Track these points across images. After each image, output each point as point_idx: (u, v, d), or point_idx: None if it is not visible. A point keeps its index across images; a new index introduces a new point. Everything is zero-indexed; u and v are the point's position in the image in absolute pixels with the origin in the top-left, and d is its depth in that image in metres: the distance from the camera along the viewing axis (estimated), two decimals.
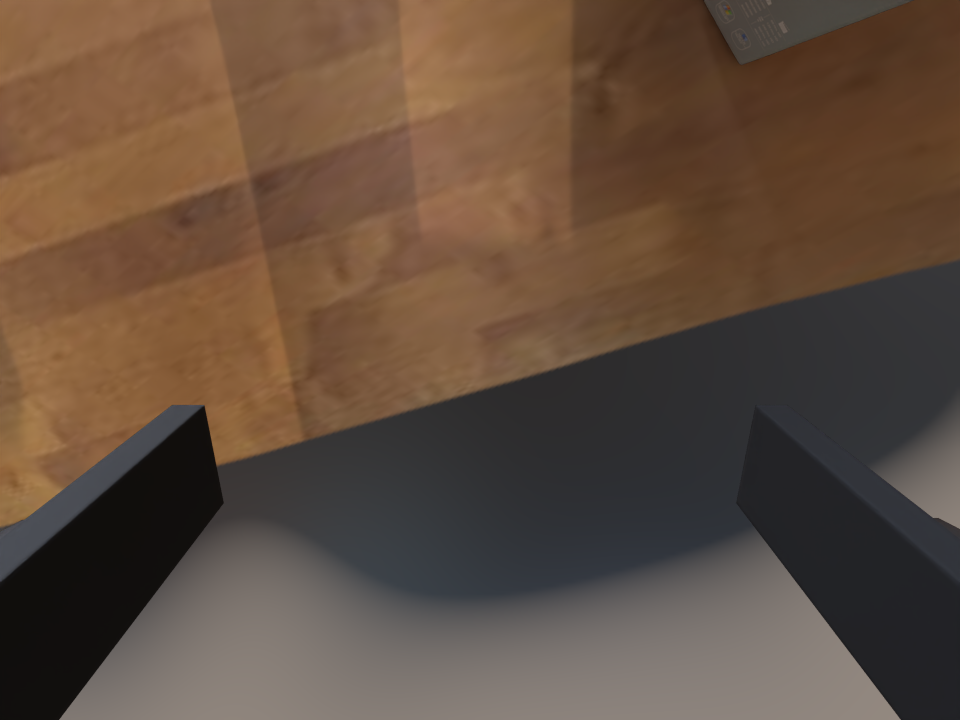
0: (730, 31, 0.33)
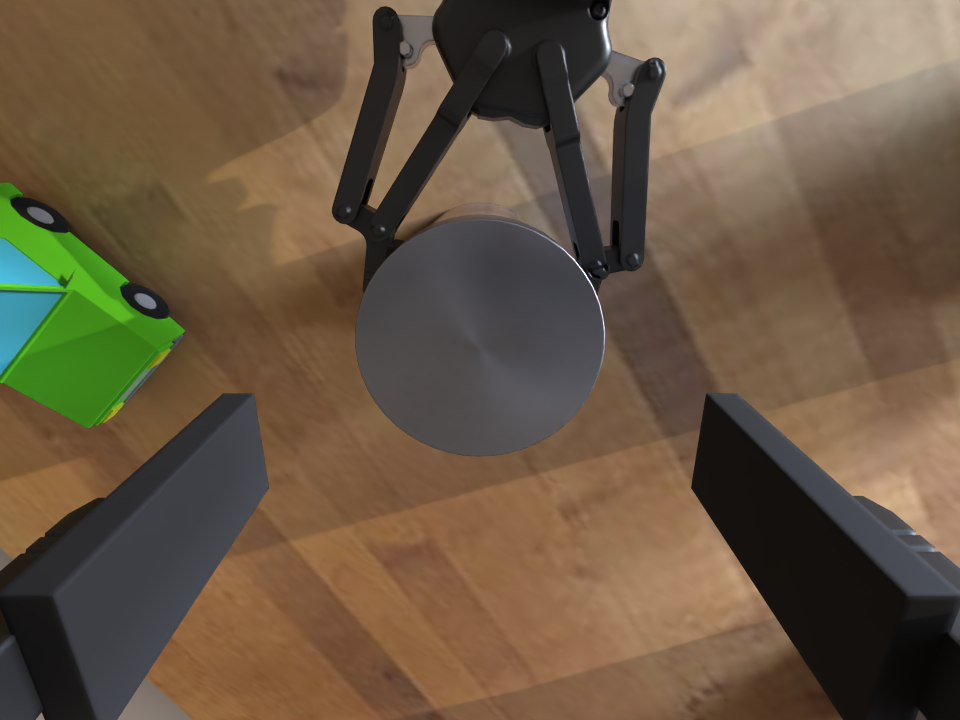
0: None
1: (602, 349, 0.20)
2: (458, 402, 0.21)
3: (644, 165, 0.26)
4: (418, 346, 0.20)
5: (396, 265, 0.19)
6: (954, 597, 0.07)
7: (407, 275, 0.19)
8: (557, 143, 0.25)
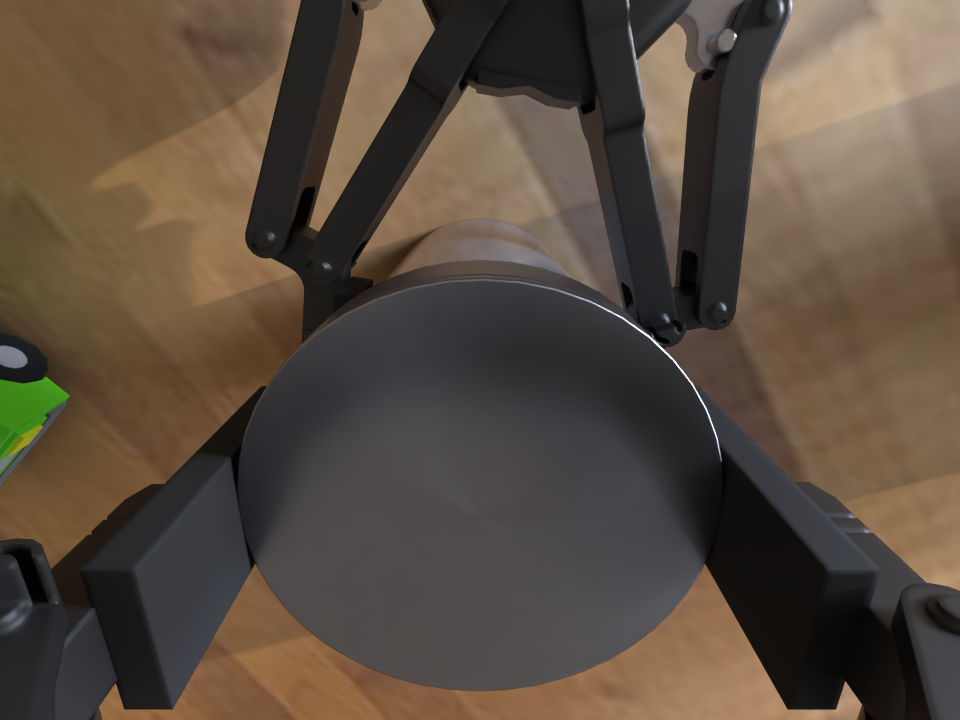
0: None
1: (716, 521, 0.11)
2: (440, 608, 0.11)
3: (745, 166, 0.16)
4: (361, 515, 0.11)
5: (310, 370, 0.09)
6: (871, 571, 0.07)
7: (333, 389, 0.10)
8: (607, 130, 0.15)
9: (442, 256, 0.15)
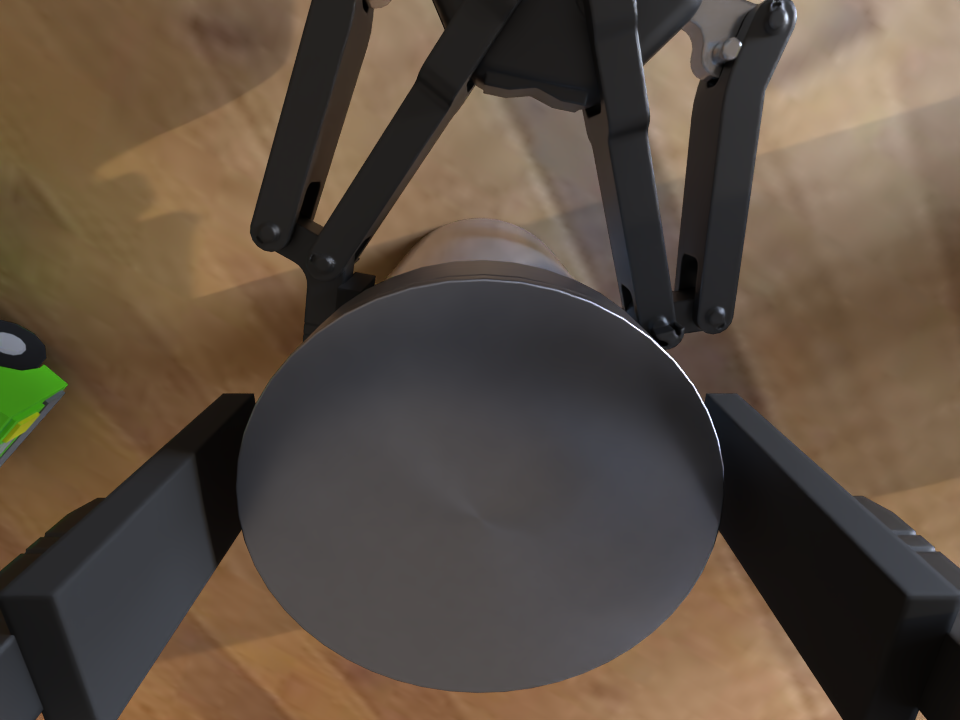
0: None
1: (522, 287, 0.09)
2: (586, 566, 0.11)
3: (747, 173, 0.16)
4: (463, 610, 0.11)
5: (316, 619, 0.11)
6: (954, 597, 0.07)
7: (334, 607, 0.11)
8: (612, 134, 0.16)
9: (446, 254, 0.15)
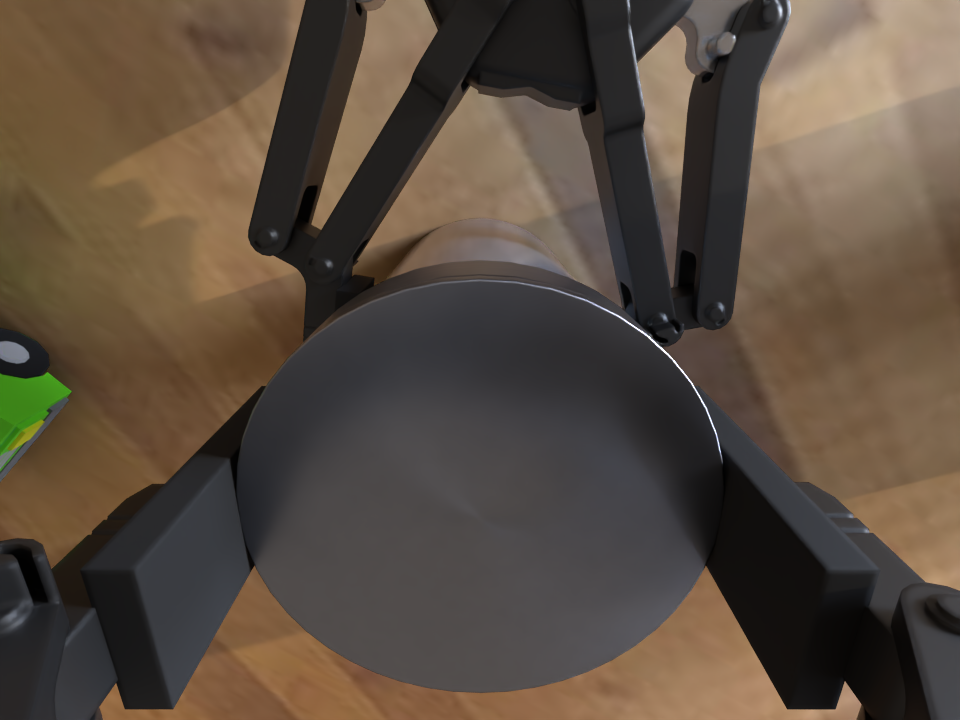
0: None
1: (517, 286, 0.09)
2: (587, 564, 0.11)
3: (744, 167, 0.16)
4: (465, 610, 0.11)
5: (318, 622, 0.11)
6: (871, 571, 0.07)
7: (337, 610, 0.11)
8: (607, 131, 0.16)
9: (443, 254, 0.15)
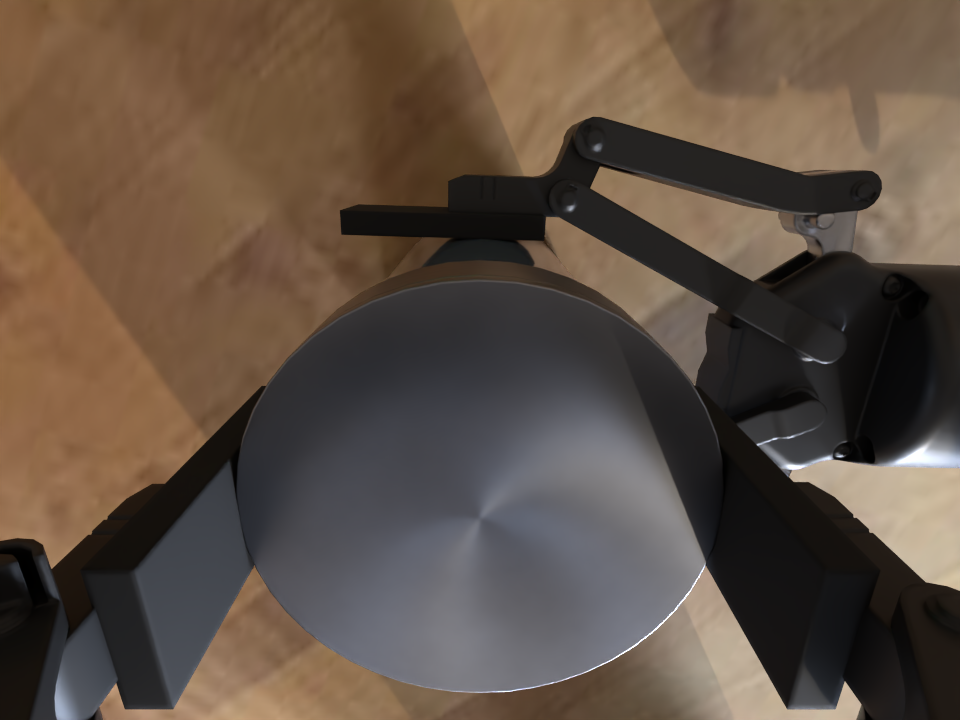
0: None
1: (517, 286, 0.09)
2: (587, 564, 0.11)
3: None
4: (465, 610, 0.11)
5: (318, 621, 0.11)
6: (871, 571, 0.07)
7: (337, 609, 0.11)
8: None
9: None
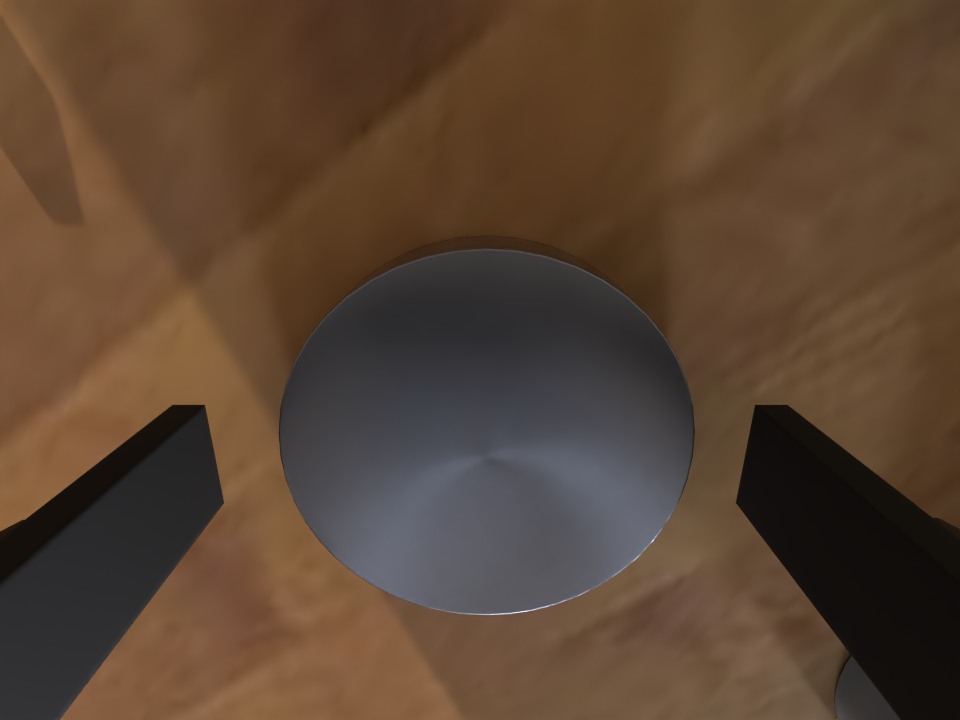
0: None
1: (518, 254, 0.11)
2: (578, 497, 0.13)
3: None
4: (473, 539, 0.13)
5: (346, 549, 0.13)
6: None
7: (362, 538, 0.13)
8: None
9: None
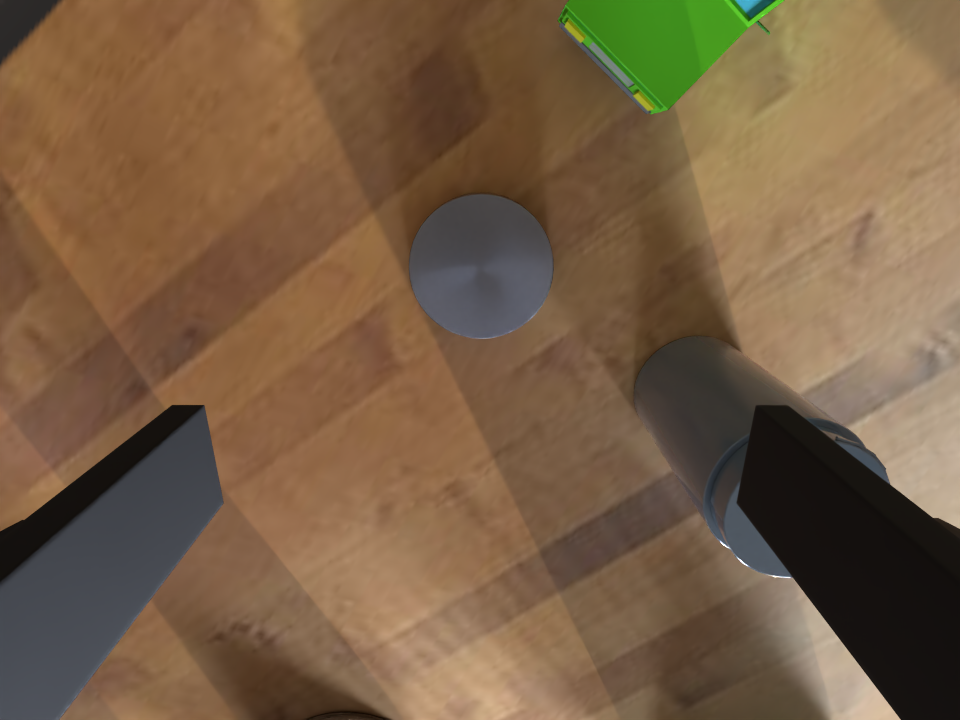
0: None
1: (491, 196, 0.34)
2: (514, 286, 0.36)
3: None
4: (476, 304, 0.36)
5: (430, 308, 0.36)
6: None
7: (436, 303, 0.36)
8: None
9: None
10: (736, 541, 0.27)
